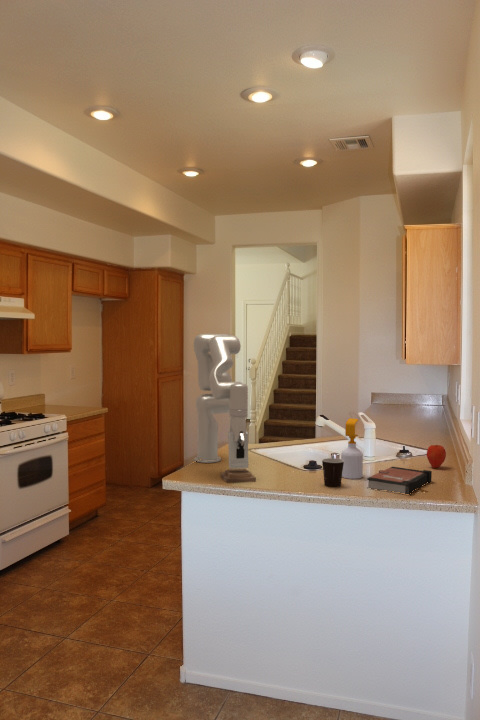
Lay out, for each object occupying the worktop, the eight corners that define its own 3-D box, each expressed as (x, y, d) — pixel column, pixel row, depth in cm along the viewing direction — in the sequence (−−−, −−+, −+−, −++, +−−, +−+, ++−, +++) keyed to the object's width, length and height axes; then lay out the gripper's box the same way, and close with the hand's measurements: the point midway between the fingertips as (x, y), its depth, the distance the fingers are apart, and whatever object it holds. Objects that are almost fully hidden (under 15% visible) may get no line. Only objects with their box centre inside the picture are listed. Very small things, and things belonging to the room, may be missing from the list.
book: (390, 476, 255) (390, 465, 254) (431, 483, 244) (431, 471, 244) (365, 489, 233) (365, 476, 233) (408, 496, 223) (408, 483, 223)
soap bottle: (365, 475, 254) (366, 418, 253) (358, 480, 246) (359, 421, 245) (345, 473, 258) (346, 417, 257) (337, 477, 250) (338, 419, 249)
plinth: (220, 476, 251) (220, 469, 251) (247, 474, 254) (248, 467, 254) (227, 482, 239) (227, 475, 239) (255, 481, 242) (255, 474, 242)
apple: (438, 471, 264) (439, 446, 264) (422, 467, 271) (422, 444, 270) (449, 468, 270) (449, 444, 269) (432, 465, 276) (433, 442, 276)
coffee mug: (326, 481, 243) (327, 457, 242) (346, 484, 238) (347, 459, 238) (315, 487, 233) (315, 462, 232) (335, 490, 228) (336, 465, 228)
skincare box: (247, 465, 250) (248, 430, 249) (248, 469, 244) (249, 432, 243) (227, 465, 249) (227, 430, 249) (228, 469, 243) (228, 432, 243)
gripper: (224, 411, 253) (224, 452, 254) (234, 416, 236) (234, 461, 237) (241, 410, 255) (241, 452, 255) (253, 416, 238) (252, 460, 239)
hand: (238, 456), depth 246 cm, fingers closed on skincare box, 6 cm apart
